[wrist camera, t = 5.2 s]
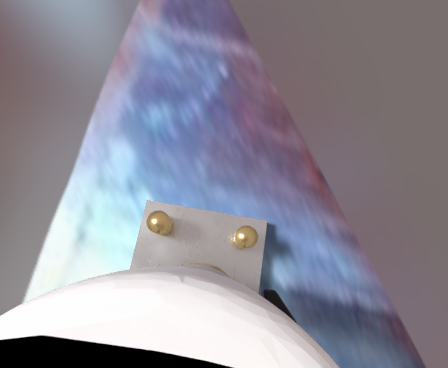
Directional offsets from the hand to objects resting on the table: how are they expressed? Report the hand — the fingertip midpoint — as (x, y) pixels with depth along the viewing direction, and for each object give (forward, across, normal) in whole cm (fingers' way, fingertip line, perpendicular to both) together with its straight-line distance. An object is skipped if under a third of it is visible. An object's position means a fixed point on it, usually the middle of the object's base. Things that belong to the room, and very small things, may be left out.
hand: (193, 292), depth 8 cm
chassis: (+9, 0, +10) cm, 13 cm away
